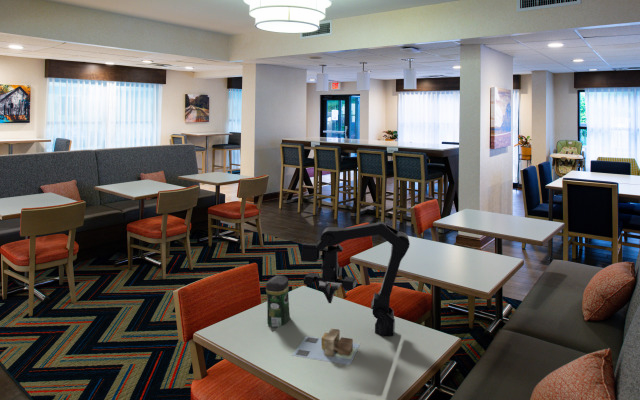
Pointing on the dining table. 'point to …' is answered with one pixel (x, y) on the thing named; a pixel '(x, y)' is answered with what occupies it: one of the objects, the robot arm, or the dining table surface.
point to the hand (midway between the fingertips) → (330, 302)
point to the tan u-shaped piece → (341, 345)
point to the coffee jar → (277, 301)
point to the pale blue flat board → (322, 351)
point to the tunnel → (331, 341)
